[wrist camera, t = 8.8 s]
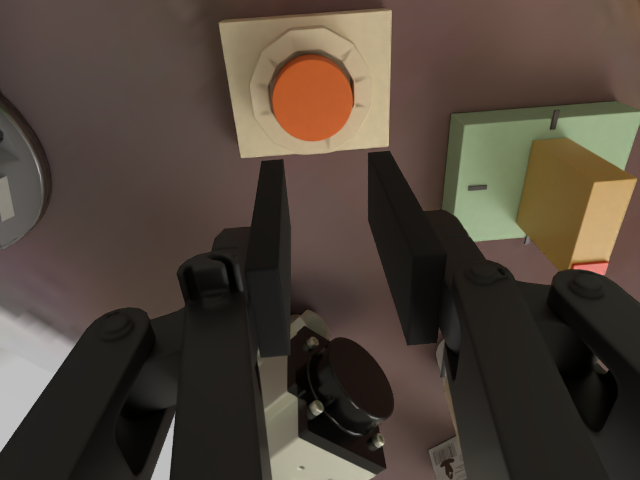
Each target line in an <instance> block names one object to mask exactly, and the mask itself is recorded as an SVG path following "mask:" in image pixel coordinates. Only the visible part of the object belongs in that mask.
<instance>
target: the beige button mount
mask: <svg viewBox="0 0 640 480" xmlns="http://www.w3.org/2000/svg"><path fill="white" fill-rule="evenodd" d="M391 25H392V10H389V9H386V8H378V9H364V10H350V11H336V12H323V13H309V14H295V15H281V16H268V17H254V18H240V19H226V20H222V21H221V22H219V30H220V36H221V42H222V48H223V54H224V60H225V66H226V72H227V78H228V84H229V90H230V96H231V102H232V108H233V114H234V120H235V126H236V132H237V138H238V144H239V150H240V156H241V158H249V157H262V156H275V155H287V154H301V155H307V154H320V153H330V152H332V151H339V150H351V149H364V148H377V147H388V146H389V107H390V66H391ZM306 54H317V55H321V56H325V57H327V58H329V59H331V60H332V61H334V62H335V63H336V64H337V65H338V66H339V67H340V68H341V69H342V71H343V72H344V74H345V76H346V78H347V80H348V82H349V84H350V87H351V90H352V96H353V105H352V110H351V114H350V116H349V119H348V120H347V122H346V124H345V125H344V126H343V128H342V129H341V130H340V131H339V132H337V133H336V134H335V135H333V136H331V137H330V138H327V139H325V140H321V141H304V140H300V139H297V138H295V137H293V136H291V135H290V134H288V133H287V132H286V131H285V130H284V129H283V128H282V127H281V126H280V124H279V123H278V121H277V119H276V117H275V114H274V111H273V106H272V94H273V88H274V83H275V80H276V77H277V75H278V73H279V72H280V70H281V69H282V68H283V67H284V65H285V64H287V63H288V62H289V61H290V60H292V59H294V58H296V57H298V56H301V55H306Z"/></svg>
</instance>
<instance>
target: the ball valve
mask: <svg viewBox="0 0 640 480" xmlns="http://www.w3.org/2000/svg"><path fill="white" fill-rule="evenodd" d="M330 337H331V333H330V330H329V328H328V326H327V324H326V323H325V321H324V320H323V319H322V318H321V317H320V316H319V315H318V314H316V313H315V312H313V311H310V310H308V309H307V310H306V311H305V312H304V313H303V314H302V315H297V314H295V315H292V316H290V355H289V356H278V357H266V358H260V353H259V347H258V354H257V361H258V366H259V371H260V379H261V388H262V396H263V405H264V413H265V422H266V430H267V439H268V447H269V456H270V464H271V473H272V480H369V479H371V478H372V477H374V476H375V475H377V474H379V473H380V472H382V471H383V470H385V469H386V463H385V458H384V453H383V447H382V445H384V444H385V439H384V437H383V436H382V434H380V432H379V427H378V425H379V424H380V423H382V422H383V421H385V420H386V419H387V418H389V417H390V416H391V414H392V412H393V409H394V398H393V393H392V389H391V387H390V384H389V382H388V380H387V378H386V376H385V374H384V372H383V370H382V369H381V367H380V366H379V364H378V363H377V362H376V361H375V359H374V358H373V357H372V356H371V355H370V354H369V353H368V352H367V351H366V350H365V349H364V348H363V347H361V346H360V345H359V344H357V343H356V342H354V341H352V340H350V339H347V338H342V337H338V338H335V339H333V340H332V341H329V338H330Z"/></svg>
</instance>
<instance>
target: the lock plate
mask: <svg viewBox="0 0 640 480" xmlns="http://www.w3.org/2000/svg"><path fill="white" fill-rule="evenodd" d="M639 124H640V110H639V109H636V108H634V107H631V106H628V105H626V104H623V103H621V102H618V101H612V102H599V103H586V104H573V105H560V106H547V107H534V108H521V109H508V110H495V111H482V112H469V113H456V114H451V122H450V132H449V142H448V152H447V162H446V172H445V182H444V192H443V202H442V210H446V211H447V212H449V213H451V214H452V215H454V216H456V217H457V218H458V219H459V221H460V222H461V224H462V225H463V227H464V229H465V230H466V231H467V233H468V234H469V237H471V238H472V240H473V241H485V240H498V239H510V238H522V237H525V242H524V244H525V245H526V244H529V242H530V238H529V237H528V236H527V235H526V234H525V233H524V232H523V230H522V229H521V228H520V227H519V226H518V225H517V224H516V221H517V216H518V211H519V206H520V201H521V196H522V192H523V187H524V182H525V177H526V172H527V167H528V162H529V157H530V152H531V147H532V142H533V140H545V139H557V138H569V139H571V140H572V141H574V142H576V143H577V144H579V145H581V146H583V147H584V148H586V149H588V150H589V151H591V152H593V153H595V154H596V155H598V156H600V157H601V158H603V159H605V160H606V161H608V162H610V163H612V164H613V165H615V166H617V167H618V168H620V169H622V170H624V169H625V166H626V163H627V160H628V157H629V154H630V151H631V148H632V145H633V142H634V139H635V136H636V133H637V130H638V127H639Z"/></svg>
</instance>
